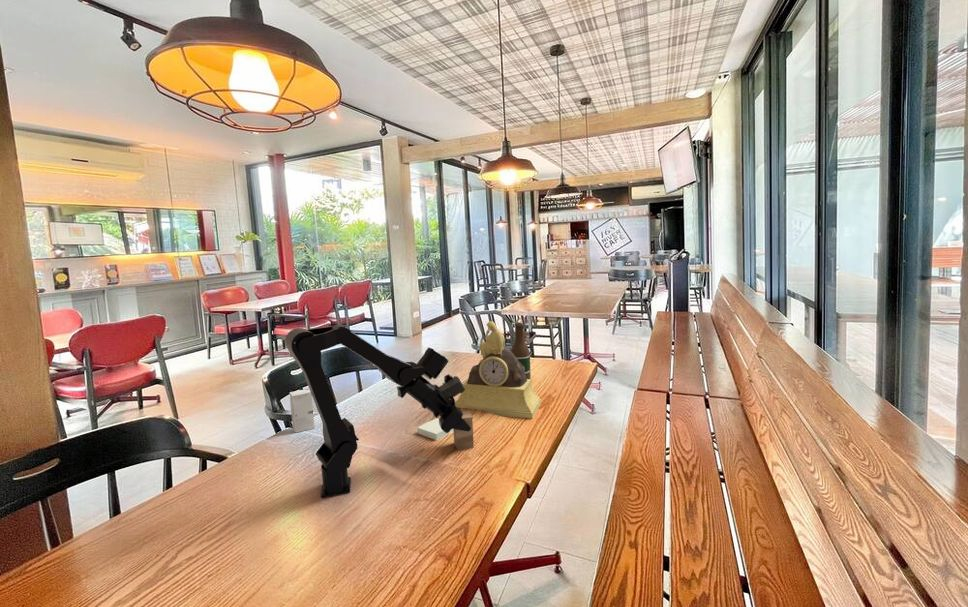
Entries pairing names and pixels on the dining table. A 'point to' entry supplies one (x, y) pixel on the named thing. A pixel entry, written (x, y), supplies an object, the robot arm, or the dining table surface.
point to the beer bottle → (521, 349)
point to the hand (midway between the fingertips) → (467, 426)
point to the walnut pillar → (464, 434)
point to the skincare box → (302, 410)
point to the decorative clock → (499, 382)
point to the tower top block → (432, 430)
